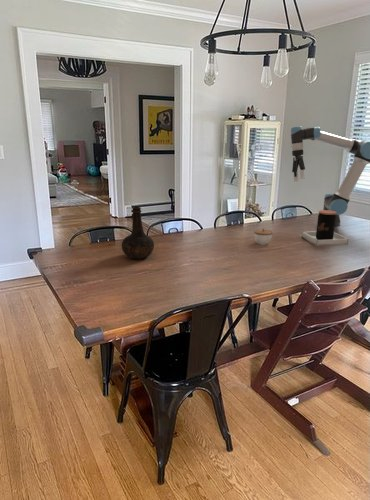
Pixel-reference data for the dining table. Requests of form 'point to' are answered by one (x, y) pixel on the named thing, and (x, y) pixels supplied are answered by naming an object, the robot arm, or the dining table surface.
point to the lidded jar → (263, 236)
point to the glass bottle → (137, 239)
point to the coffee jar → (325, 225)
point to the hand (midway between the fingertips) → (299, 180)
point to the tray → (335, 241)
